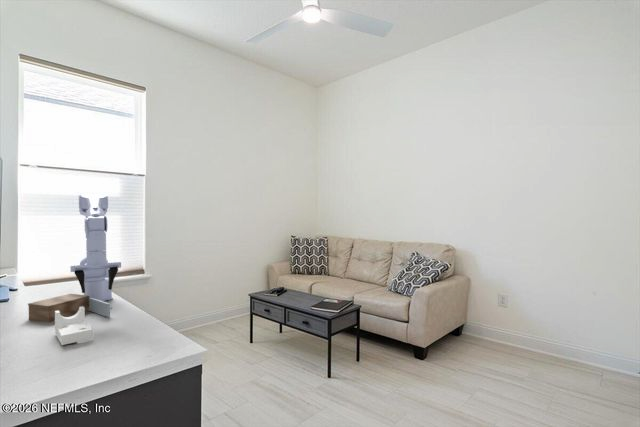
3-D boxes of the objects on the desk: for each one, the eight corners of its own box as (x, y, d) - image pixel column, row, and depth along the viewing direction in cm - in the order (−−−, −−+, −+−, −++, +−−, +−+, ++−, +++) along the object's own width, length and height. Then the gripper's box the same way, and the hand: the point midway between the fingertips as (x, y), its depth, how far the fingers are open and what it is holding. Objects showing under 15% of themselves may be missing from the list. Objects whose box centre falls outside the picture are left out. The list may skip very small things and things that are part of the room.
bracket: (55, 335, 104) (54, 311, 104) (83, 330, 109) (82, 306, 109) (61, 348, 94) (61, 321, 94) (92, 341, 99) (91, 315, 99)
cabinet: (70, 308, 131) (70, 293, 131) (89, 310, 128) (89, 295, 128) (28, 319, 118) (27, 303, 118) (48, 322, 114) (48, 306, 114)
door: (88, 310, 128) (88, 297, 128) (93, 309, 129) (92, 297, 129) (107, 317, 120) (107, 304, 120) (112, 315, 121) (112, 303, 121)
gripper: (71, 253, 110) (71, 295, 110) (122, 249, 120) (123, 289, 119) (69, 252, 116) (70, 293, 115) (119, 249, 125) (119, 287, 124)
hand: (97, 291), depth 117 cm, fingers open, 7 cm apart
